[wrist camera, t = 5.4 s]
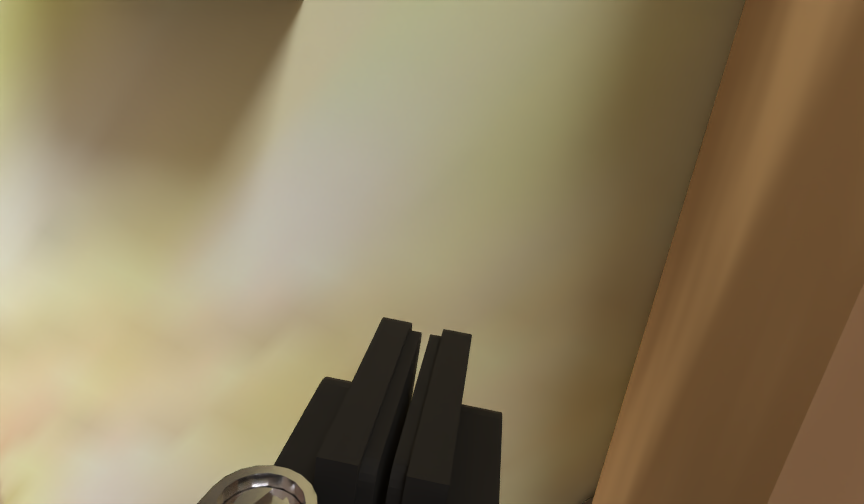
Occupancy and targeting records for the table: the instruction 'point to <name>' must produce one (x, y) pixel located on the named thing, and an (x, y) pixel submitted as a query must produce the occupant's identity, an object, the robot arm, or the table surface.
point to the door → (761, 285)
